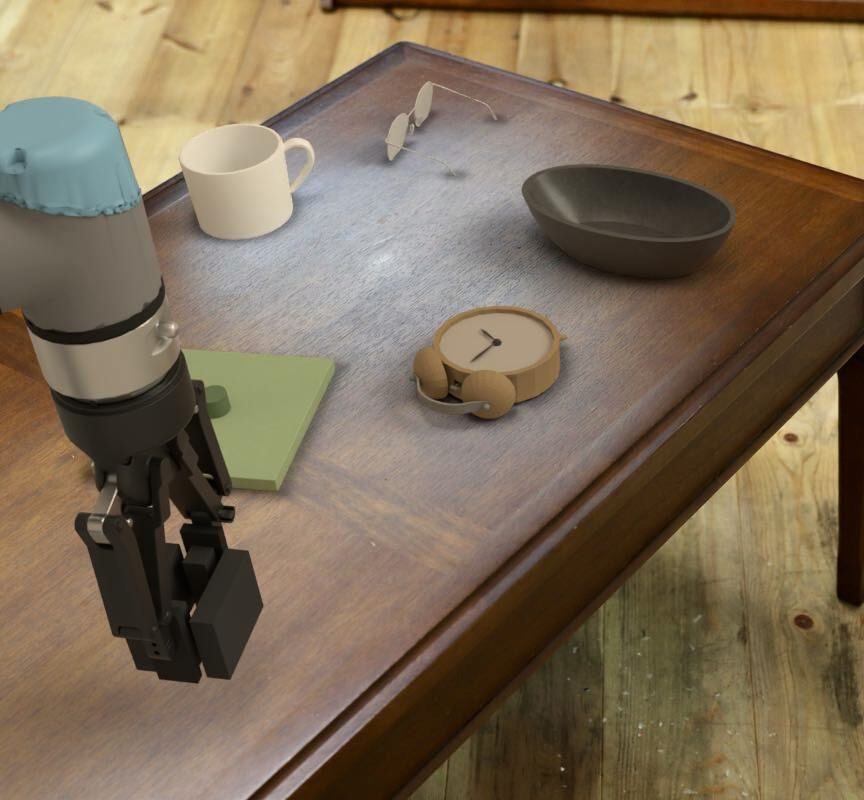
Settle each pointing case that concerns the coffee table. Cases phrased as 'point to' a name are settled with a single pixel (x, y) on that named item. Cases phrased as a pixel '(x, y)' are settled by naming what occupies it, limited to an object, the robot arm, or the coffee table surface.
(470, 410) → the alarm clock
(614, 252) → the bowl
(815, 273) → the coffee table surface
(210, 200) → the mug
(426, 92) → the sunglasses
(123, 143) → the robot arm
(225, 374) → the sage mat
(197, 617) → the black slotted block
